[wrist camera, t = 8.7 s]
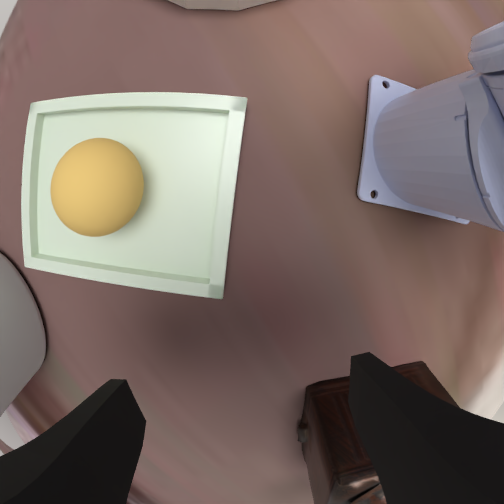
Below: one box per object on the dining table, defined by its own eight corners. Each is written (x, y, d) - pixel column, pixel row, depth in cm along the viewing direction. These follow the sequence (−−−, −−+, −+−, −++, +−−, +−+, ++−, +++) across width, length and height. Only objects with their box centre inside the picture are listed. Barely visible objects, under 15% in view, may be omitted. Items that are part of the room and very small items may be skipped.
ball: (162, 146, 15) (131, 137, 10) (148, 233, 16) (115, 258, 12) (86, 138, 15) (38, 132, 10) (76, 219, 16) (29, 237, 11)
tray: (246, 104, 15) (247, 97, 14) (224, 289, 18) (222, 299, 17) (43, 105, 14) (30, 102, 13) (36, 260, 17) (24, 266, 16)
